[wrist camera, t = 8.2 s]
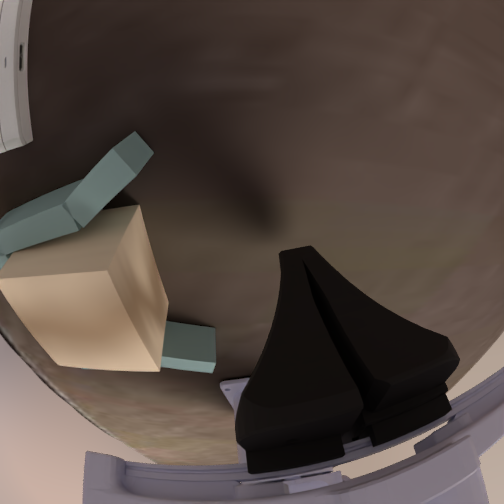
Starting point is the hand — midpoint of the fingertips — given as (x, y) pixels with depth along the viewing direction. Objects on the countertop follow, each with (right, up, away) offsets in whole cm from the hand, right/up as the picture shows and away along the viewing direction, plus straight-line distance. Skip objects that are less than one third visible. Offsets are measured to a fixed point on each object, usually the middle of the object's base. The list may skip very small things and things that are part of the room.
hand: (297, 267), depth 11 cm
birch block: (-10, 0, +1) cm, 10 cm away
